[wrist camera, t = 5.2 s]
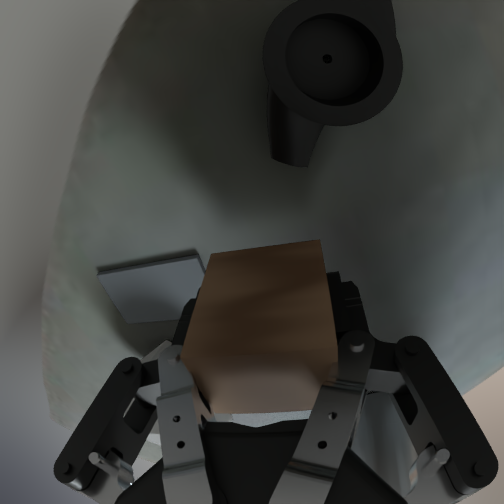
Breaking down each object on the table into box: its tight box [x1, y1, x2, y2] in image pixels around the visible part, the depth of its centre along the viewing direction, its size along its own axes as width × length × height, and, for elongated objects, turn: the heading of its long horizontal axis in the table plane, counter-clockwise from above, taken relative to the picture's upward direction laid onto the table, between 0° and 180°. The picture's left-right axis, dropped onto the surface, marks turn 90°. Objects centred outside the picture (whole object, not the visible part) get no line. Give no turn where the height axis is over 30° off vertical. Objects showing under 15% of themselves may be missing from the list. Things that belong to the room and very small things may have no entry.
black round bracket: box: [263, 0, 403, 167], centre depth 12 cm, size 8×10×3 cm
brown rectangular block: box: [180, 239, 338, 414], centre depth 13 cm, size 5×4×6 cm
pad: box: [97, 254, 206, 324], centre depth 21 cm, size 8×5×1 cm, turn 104°
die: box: [125, 340, 233, 446], centre depth 23 cm, size 8×9×10 cm
